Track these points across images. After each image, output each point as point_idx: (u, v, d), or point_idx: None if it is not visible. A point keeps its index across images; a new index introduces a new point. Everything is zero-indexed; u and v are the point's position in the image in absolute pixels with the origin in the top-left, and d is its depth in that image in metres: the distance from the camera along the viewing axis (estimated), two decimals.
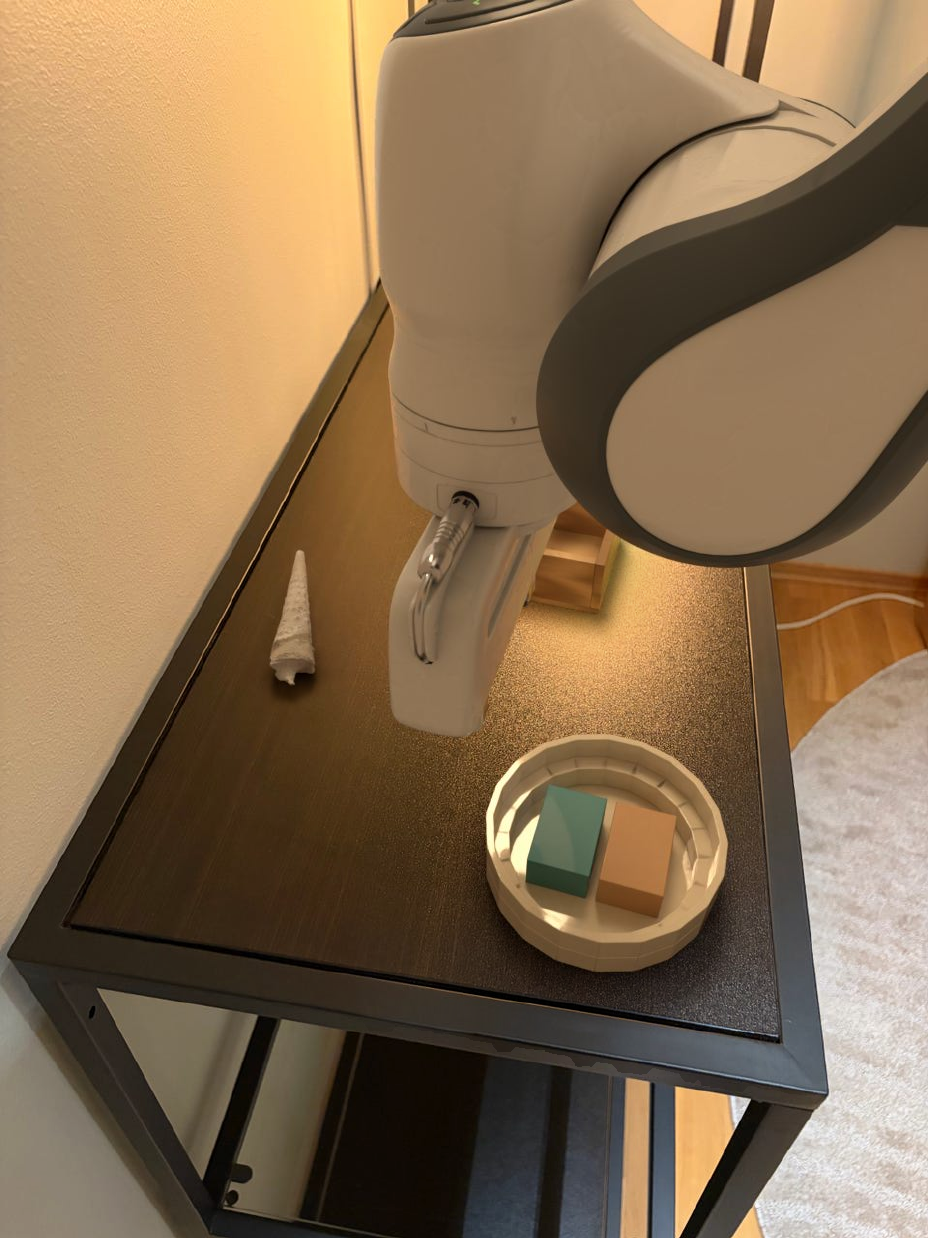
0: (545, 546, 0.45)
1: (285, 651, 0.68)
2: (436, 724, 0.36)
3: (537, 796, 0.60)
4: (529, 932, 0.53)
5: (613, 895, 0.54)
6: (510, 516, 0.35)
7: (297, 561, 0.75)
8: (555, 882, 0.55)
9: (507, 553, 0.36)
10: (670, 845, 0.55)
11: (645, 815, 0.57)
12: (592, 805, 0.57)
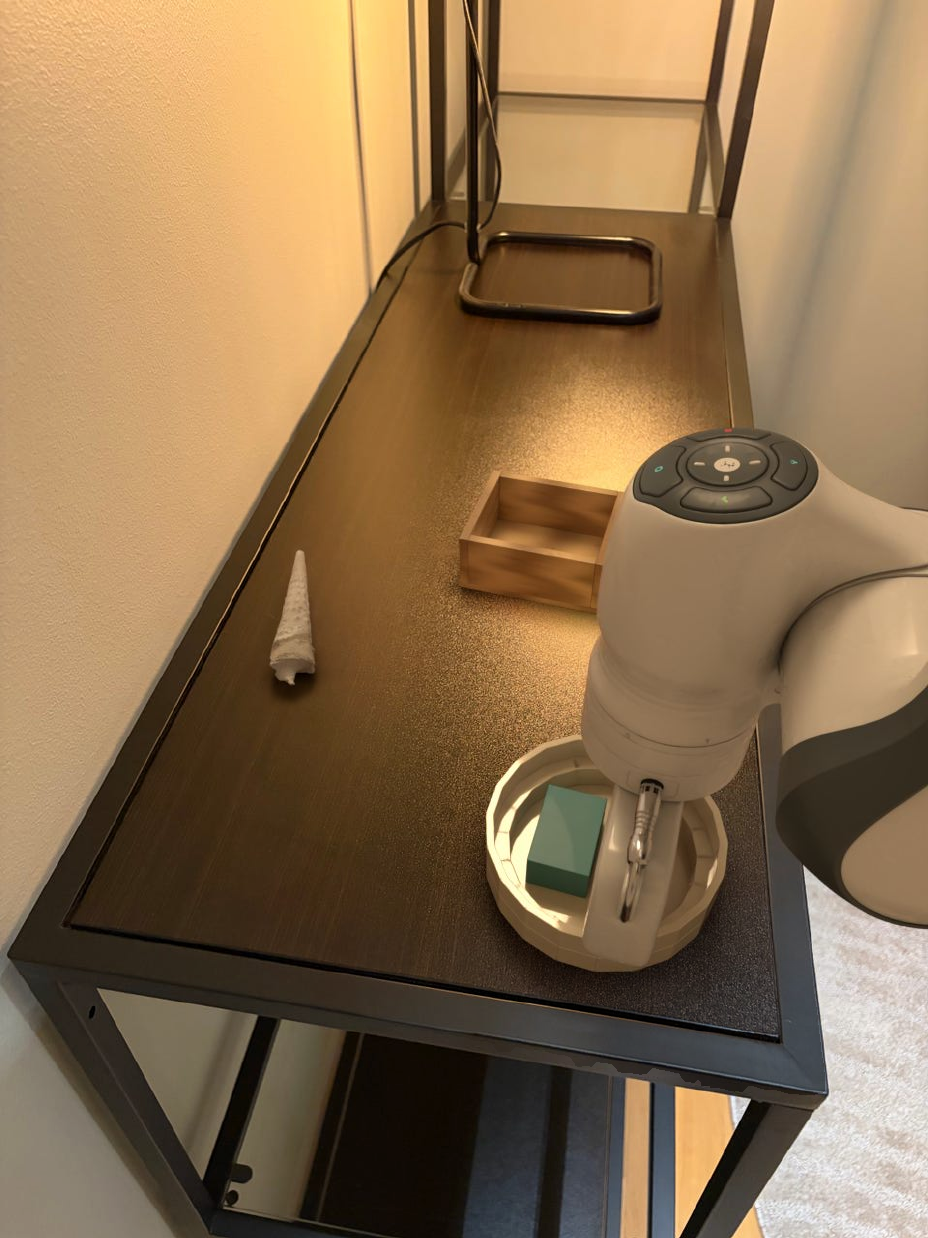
0: None
1: (285, 651, 0.68)
2: (621, 958, 0.45)
3: (537, 796, 0.60)
4: (529, 932, 0.53)
5: None
6: (687, 795, 0.44)
7: (297, 561, 0.75)
8: (555, 882, 0.55)
9: None
10: None
11: None
12: (592, 805, 0.57)
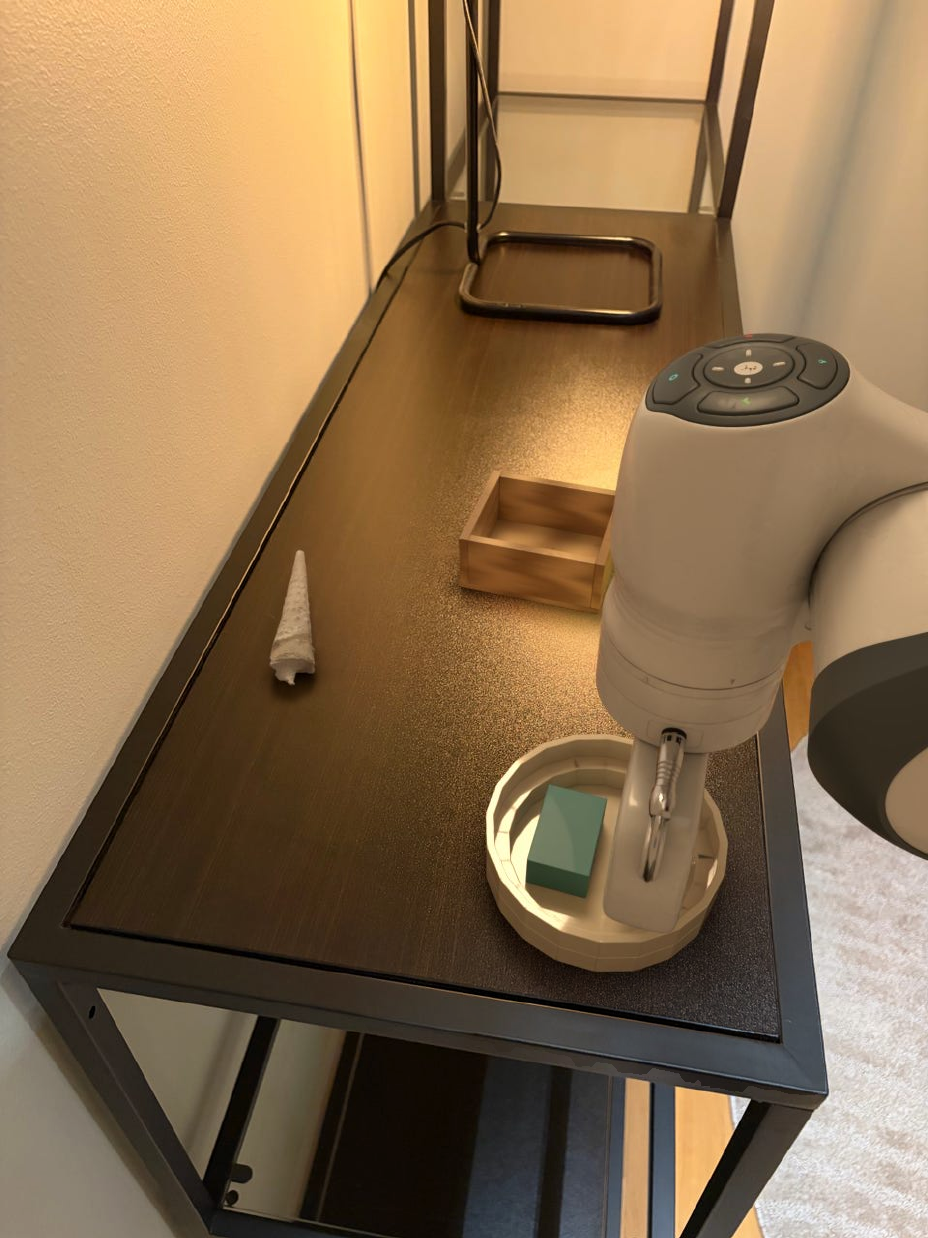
0: None
1: (285, 651, 0.68)
2: (646, 923, 0.41)
3: (537, 796, 0.60)
4: (529, 932, 0.53)
5: None
6: (712, 746, 0.40)
7: (297, 561, 0.75)
8: (555, 882, 0.55)
9: (706, 773, 0.41)
10: None
11: None
12: (592, 805, 0.57)
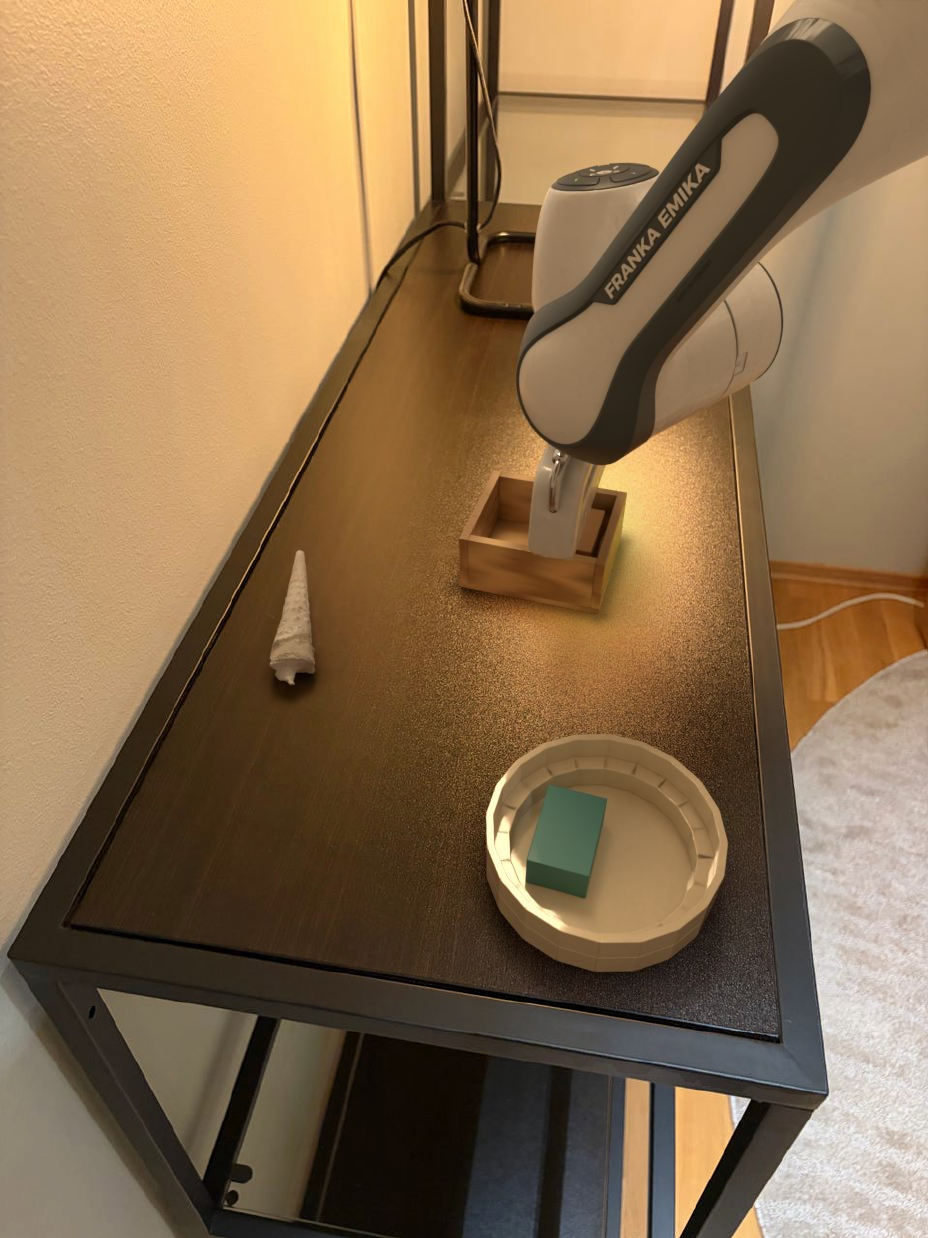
0: None
1: (285, 651, 0.68)
2: (554, 550, 0.66)
3: (537, 796, 0.60)
4: (529, 932, 0.53)
5: None
6: None
7: (297, 561, 0.75)
8: (555, 882, 0.55)
9: None
10: (598, 525, 0.76)
11: None
12: (592, 805, 0.57)
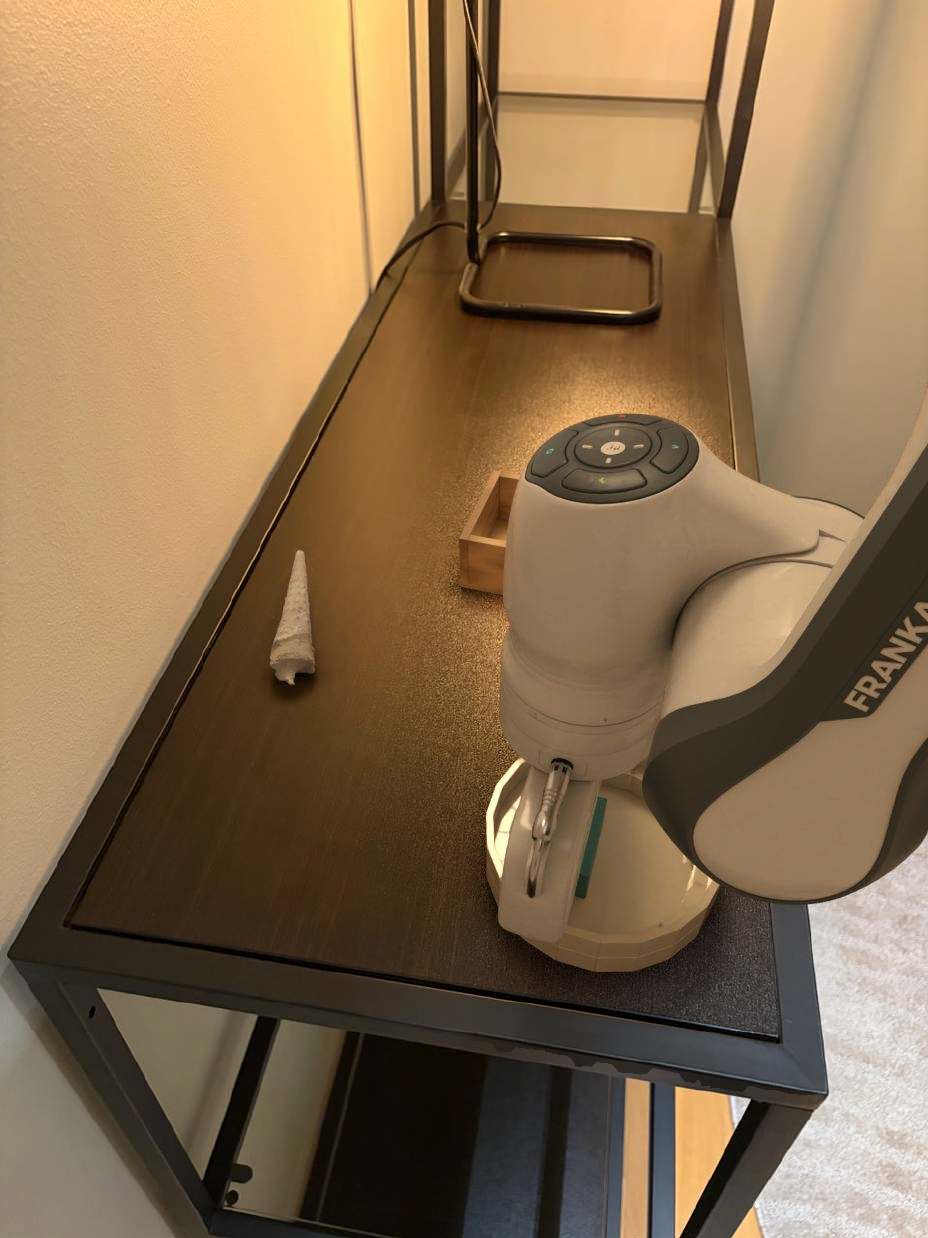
0: None
1: (285, 651, 0.68)
2: (535, 934, 0.46)
3: None
4: None
5: None
6: (597, 775, 0.45)
7: (297, 561, 0.75)
8: None
9: (592, 799, 0.45)
10: None
11: None
12: None
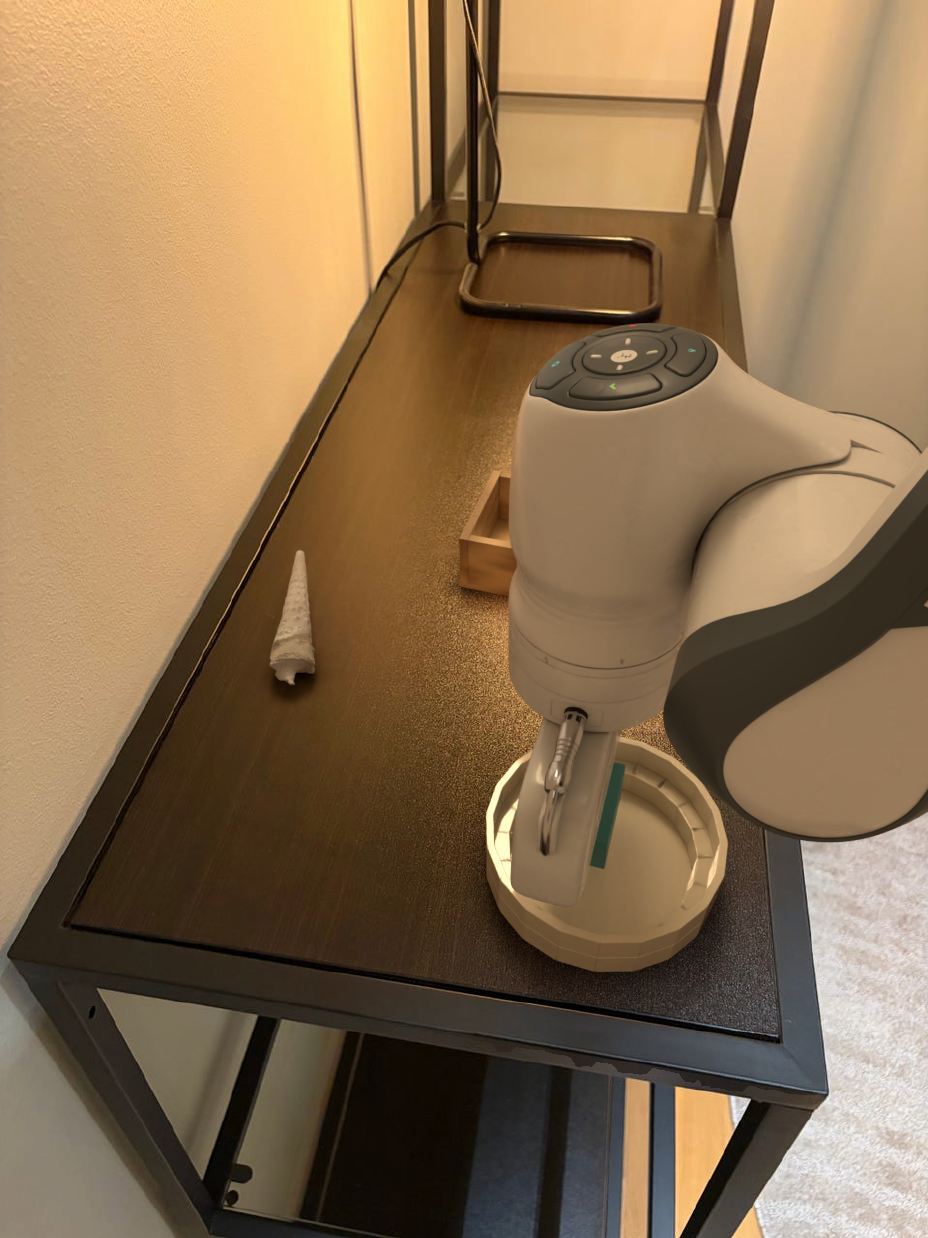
0: None
1: (285, 651, 0.68)
2: (550, 897, 0.43)
3: None
4: (529, 932, 0.53)
5: None
6: (613, 725, 0.42)
7: (297, 561, 0.75)
8: None
9: (609, 752, 0.43)
10: None
11: None
12: None
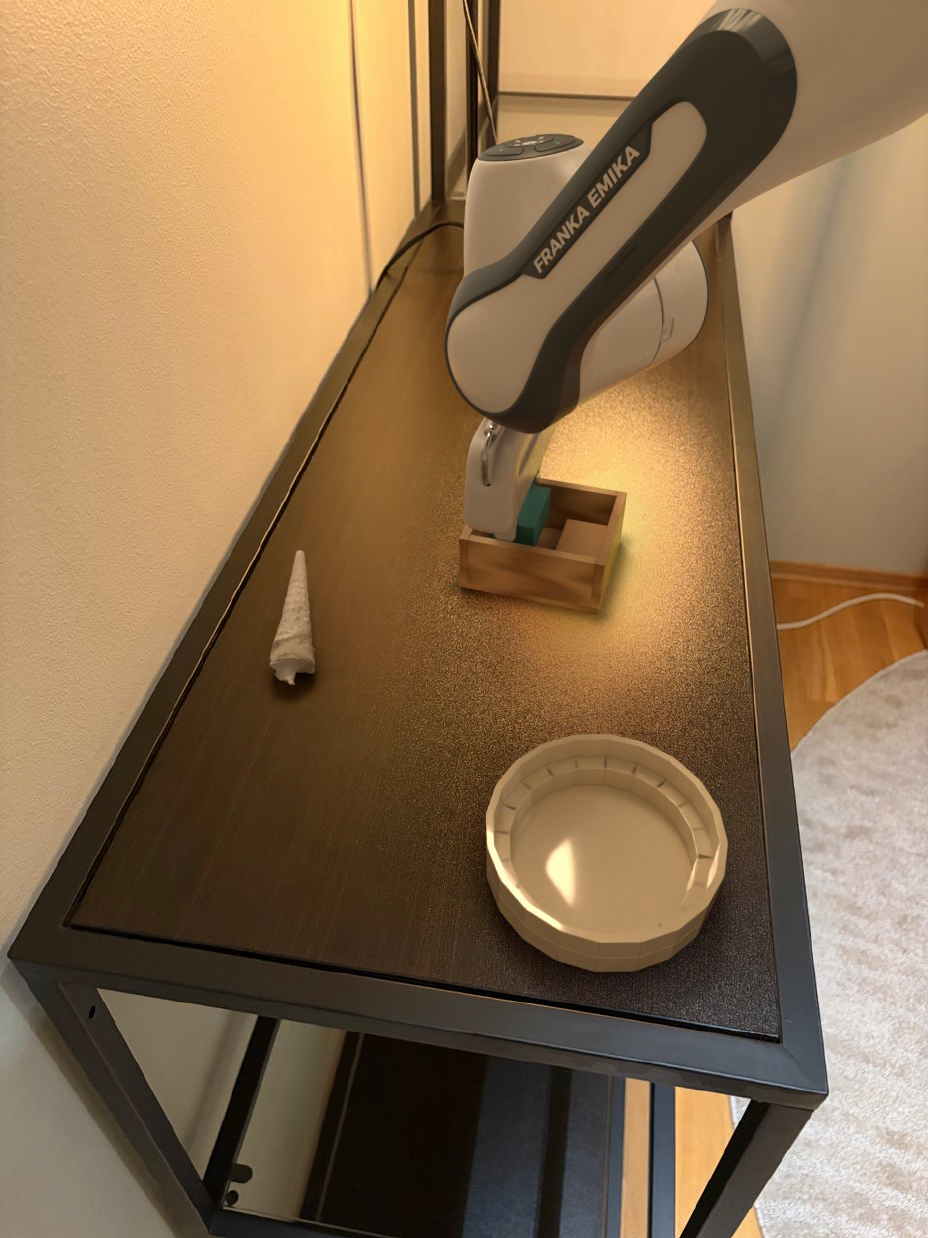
0: (549, 441, 0.75)
1: (285, 651, 0.68)
2: (490, 524, 0.66)
3: (537, 796, 0.60)
4: (529, 932, 0.53)
5: None
6: None
7: (297, 561, 0.75)
8: None
9: None
10: None
11: (587, 525, 0.78)
12: (539, 491, 0.77)
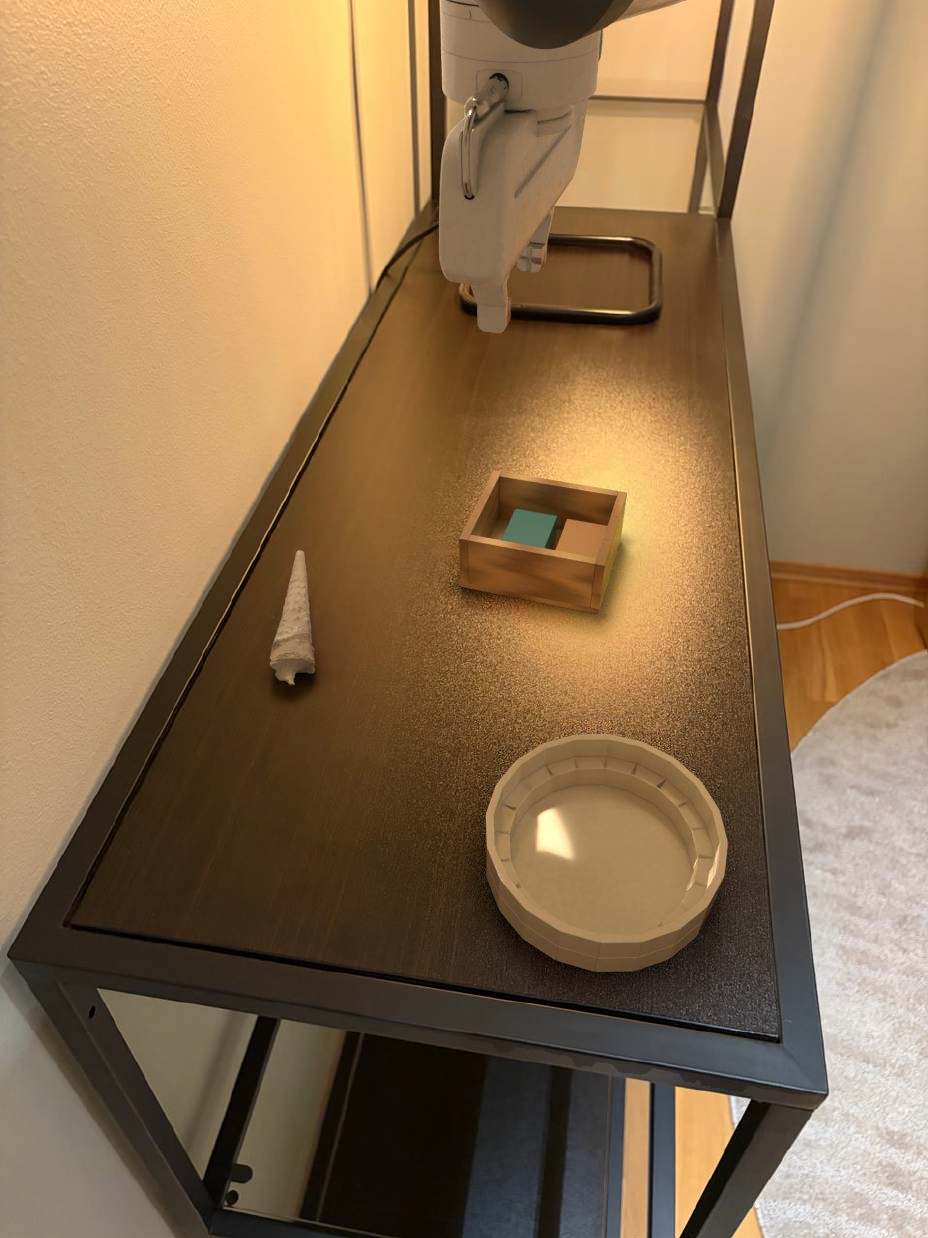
0: (556, 196, 0.56)
1: (285, 651, 0.68)
2: (474, 265, 0.47)
3: (537, 796, 0.60)
4: (529, 932, 0.53)
5: None
6: (532, 98, 0.46)
7: (297, 561, 0.75)
8: None
9: (529, 133, 0.47)
10: None
11: (587, 525, 0.78)
12: (546, 519, 0.79)
